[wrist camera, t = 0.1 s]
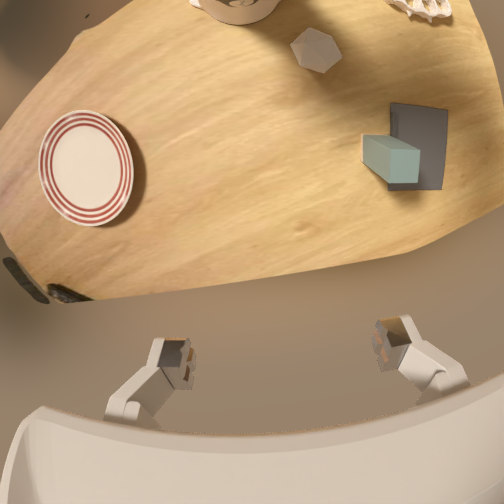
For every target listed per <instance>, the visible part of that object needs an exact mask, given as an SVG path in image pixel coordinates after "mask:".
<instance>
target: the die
mask: <svg viewBox="0 0 504 504" xmlns="http://www.w3.org/2000/svg"><path fill="white" fill-rule="evenodd" d="M290 46H291V48H292V50H293V52H294V55H295V57H296V59H297V61H298V63H299V65H300V67H304V68H307V69H310V70H314V71H317V72H320V73H323V74H324V73H325V72H326V71H327V70H329V69H330V68H331V67H332V66H333V65H334V64H336V63H337V62H338V61H339V60H340V59H342V58H343V56H342V54H341V52H340V50H339V49H338V47H337V45H336V43H335V41H334V39H333V37H332V36H331V35H328V34H326V33H323V32H321V31H318V30H316V29H313V28H310V27H308V28H307V29H306V30H305V31H303V32H302V33H301V34H300V35H299V36H298V37H297V38H296V39H295V40H294V41H293V42H292V43H291V44H290Z"/></svg>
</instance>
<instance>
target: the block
mask: <svg viewBox="0 0 504 504" xmlns="http://www.w3.org/2000/svg"><path fill="white" fill-rule="evenodd" d="M361 162H363V163H364V164H365V165H367V166H368V167H369V168H370V169H372V170H373V171H374V172H376V173H377V174H378V175H379V176H380V177H382V178H383V179H384V180H385V181H387V182H388V183H418V174H419V162H420V150H419V149H417V148H415V147H413V146H411V145H409V144H407V143H405V142H403V141H400V140H398V139H396V138H394V137H392V136H389V135H387V134H361Z"/></svg>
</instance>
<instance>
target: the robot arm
mask: <svg viewBox="0 0 504 504" xmlns="http://www.w3.org/2000/svg"><path fill="white" fill-rule="evenodd" d="M280 1H281V0H190V4H191V5H192V6H194V7H196V8H200V9H203V10H205V11H206V12H207V13H208V14H210V15H211V16H212V17H213V18H215V19H217V20H219V21H221V22H224V23H228V24H235V25H243V24H250V23H254V22H257V21H259V20H261V19H263V18H265V17H266V16H268V15H269V14H270V13H271V12H272V11H273V10H274V8H275V7H276V5H277V4H278V3H279V2H280ZM376 329H377V330H376V331H375V332H374V333H373V337H372V344H373V349H374V352H375V353H376V354H378V355H379V357H378V360H377V361H378V364H379V367H380V370H381V372H384V371H389V370H394V369H398V370H399V371H400V372H401V373H402V374H403V375H404V376H405V377H406V378H407V379H409V380H410V381H411V382H412V383H413V384H414V385H415V386H416V387H417V388H418V389H419V390H420V391H421V392H422V395H421V396H420V397H419V399H418V400H417V402H416V405H417V406H415V407H412V408H409V409H405V410H402V411H398V412H395V413H391V414H387V415H384V416H379V417H375V418H371V419H366V420H361V421H356V422H351V423H346V424H341V425H335V426H328V427H322V428H314V429H306V430H297V431H287V432H274V433H254V434H210V433H207V434H206V433H189V432H177V431H166V430H161V426H160V425H159V424H158V423H157V421H156V420H155V419H153V417H154V415H155V414H156V413H157V411H158V410H159V409H160V408H161V406H162V405H163V404H164V403H165V402H166V400H167V399H168V398H169V397H170V395H171V394H172V393H173V392H174V389H181V390H185V389H187V390H189V389H191V390H192V387H193V381H194V376H193V374H192V372H193V371H194V370H195V367H196V355H195V352H194V349H192V348H191V347H190V344H191V342H190V340H189V338H155V339H154V341H153V344H152V347H151V351H150V354H149V357H148V361H147V365H146V367H142V368H141V369H140V370H139V371H138V372H137V373H136V374H134V375H133V376H132V377H131V378H130V379H129V380H128V381H127V382H126V383H125V384H124V385H123V386H122V387H121V388H119V389H118V390H117V391H116V392H115V393H114V394H113V395H112V396H111V397H110V399H109V402H108V405H107V408H106V412H105V415H104V419H103V420H99V419H94V418H90V417H86V416H82V415H78V414H74V413H71V412H67V411H64V410H61V409H57V408H54V407H51V406H47V405H44V406H41V407H40V408H38V409H37V410H35V411H34V412H33V413H31V414H30V415H29V416H27V417H26V418H25V419H24V420H23V421H22V422H21V424H20V426H19V427H18V429H17V431H16V434H15V436H14V439H13V442H12V444H11V447H10V450H9V453H8V457H7V460H6V463H5V466H4V470H3V475H2V480H1V484H0V504H504V370H503V371H501V372H499V373H497V374H495V375H493V376H491V377H489V378H487V379H485V380H483V381H481V382H478V383H476V384H474V385H472V386H471V385H470V383H469V381H468V378H467V376H466V374H465V372H464V370H463V367H462V366H461V364H460V363H458V362H457V361H455V360H454V359H452V358H451V357H449V356H448V355H446V354H445V353H443V352H442V351H440V350H439V349H438V348H436V347H435V346H433V345H432V344H430V343H429V342H427V341H426V340H424V341H423V340H422V338H421V337H420V334H419V332H418V330H417V328H416V326H415V325H414V323H413V321H412V319H411V317H410V315H408V314H407V315H402V316H396V317H391V318H386V319H381V320H378V321H377V322H376Z"/></svg>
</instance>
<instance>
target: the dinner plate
mask: <svg viewBox="0 0 504 504" xmlns="http://www.w3.org/2000/svg"><path fill="white" fill-rule="evenodd" d="M38 170H39V177H40V182H41V185H42V188H43V190H44V193H45V195H46V197H47V198H48V200H49V202H50V203H51V205H52V206H53V207H54V208H55V210H56V211H57V212H58V213H60V214H61V215H62V216H63V217H65V218H66V219H68V220H69V221H71V222H73V223H76V224H79V225H83V226H98V225H102V224H105V223H107V222H109V221H111V220H113V219H114V218H115V217H116V216H117V215H118V214H119V213H120V212H121V211H122V210H123V209H124V207H125V205H126V204H127V202H128V200H129V197H130V194H131V191H132V187H133V180H134V168H133V160H132V156H131V152H130V149H129V146H128V144H127V141H126V139H125V138H124V136H123V134H122V133H121V131H120V130H119V129H118V127H117V126H116V125H115V124H114V123H113V122H112V121H111V120H109V119H108V118H107V117H105V116H103V115H102V114H100V113H97V112H94V111H89V110H78V111H73V112H70V113H67V114H65V115H64V116H62V117H60V118H59V119H58V120H57V121H55V122H54V123H53V125H52V126H51V127H50V128H49V130H48V131H47V133H46V134H45V136H44V139H43V141H42V144H41V147H40V151H39V159H38Z"/></svg>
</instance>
